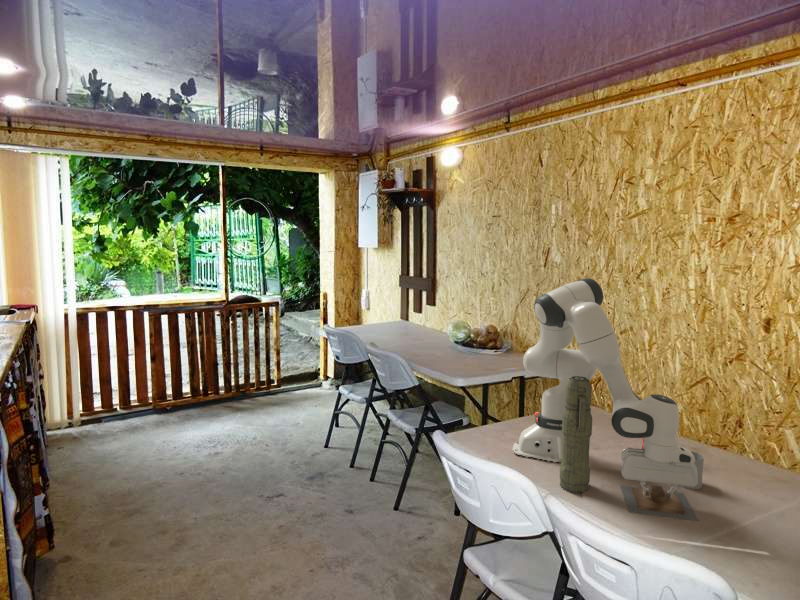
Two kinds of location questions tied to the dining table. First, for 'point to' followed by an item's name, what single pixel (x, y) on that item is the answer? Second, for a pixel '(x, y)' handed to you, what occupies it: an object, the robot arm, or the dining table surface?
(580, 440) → the thermos
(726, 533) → the dining table surface
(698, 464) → the cup
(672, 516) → the mat
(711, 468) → the dining table surface
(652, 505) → the lid
